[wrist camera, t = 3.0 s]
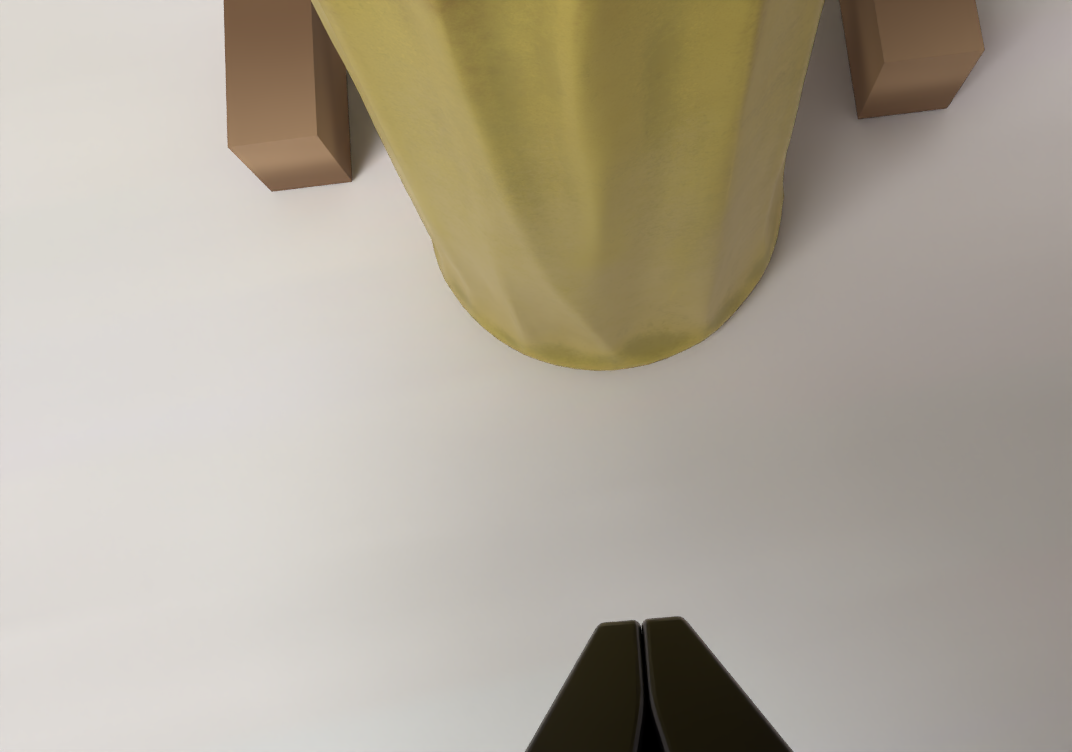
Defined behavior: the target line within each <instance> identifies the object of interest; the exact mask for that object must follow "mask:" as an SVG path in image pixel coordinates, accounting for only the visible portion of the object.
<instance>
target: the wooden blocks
mask: <svg viewBox="0 0 1072 752" xmlns="http://www.w3.org/2000/svg"><path fill="white" fill-rule="evenodd" d="M839 2H840V8H841V14H842V21H843V27H844V33H845V40H846V46H847V52H848V59H849V65H850V71H851V78H852V84H853V90H854V97H855V103H856V109H857V115H858V119H863V118H871V117H879V116H887V115H895V114H903V113H912V112H920V111H928V110H936V109H944V108H947V107H948V106H949V104H950V103H951V101H952V99H953V98H954V96H955V95H956V93H957V92H958V90H959V89H960V87H961V86H962V84H963V83H964V81H965V79H966V78H967V76H968V75H969V73H970V72H971V70H972V69H973V67H974V66H975V64H976V63H977V61H978V59H979V58H980V56H981V55H982V53H983V52H984V44H983V39H982V34H981V28H980V23H979V18H978V12H977V7H976V2H975V0H839ZM224 28H225V64H226V101H227V138H228V148H229V149H230V150H231V151H232V152H233V153H234V154H235V155H236V156H237V157H238V158H239V159H240V160H241V161H242V162H243V163H244V164H245V165H246V166H247V167H248V168H249V169H250V170H251V171H252V172H253V173H254V174H255V175H256V176H257V177H258V178H259V179H260V180H261V181H262V182H263V183H264V184H265V185H266V186H267V187H268V188H269V189H270V190H271V191H280V190H288V189H296V188H304V187H313V186H321V185H329V184H337V183H345V182H352V172H351V153H350V134H349V115H348V96H347V77H346V67H345V65H344V63H343V61H342V59H341V57H340V56H339V54H338V52H337V50H336V48H335V47H334V45H333V43H332V41H331V39H330V37H329V35H328V33H327V31H326V29H325V27H324V25H323V23H322V21H321V19H320V17H319V15H318V14H317V12H316V10H315V8H314V6H313V4H312V2H311V0H224Z"/></svg>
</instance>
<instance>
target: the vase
mask: <svg viewBox="0 0 1072 752" xmlns="http://www.w3.org/2000/svg"><path fill="white" fill-rule="evenodd" d="M311 2H312V4H313V6H314V8H315V10H316V12H317V14H318V15H319V17H320V19H321V21H322V23H323V25H324V27H325V29H326V31H327V33H328V35H329V37H330V39H331V41H332V43H333V45H334V47H335V48H336V50H337V52H338V54H339V56H340V57H341V59H342V61H343V63H344V65H345V67H346V69H347V71H348V73H349V74H350V76H351V78H352V80H353V82H354V84H355V86H356V88H357V90H358V92H359V94H360V96H361V98H362V100H363V102H364V104H365V107H366V109H367V111H368V113H369V115H370V117H371V120H372V122H373V124H374V126H375V128H376V130H377V132H378V134H379V136H380V138H381V140H382V143H383V145H384V147H385V149H386V151H387V153H388V155H389V157H390V159H391V161H392V163H393V165H394V167H395V169H396V171H397V173H398V175H399V177H400V179H401V181H402V183H403V185H404V187H405V189H406V191H407V193H408V194H409V196H410V198H411V200H412V202H413V204H414V206H415V208H416V210H417V212H418V214H419V216H420V218H421V220H422V222H423V224H424V226H425V227H426V229H427V231H428V233H429V235H430V237H431V239H432V243H433V247H434V251H435V255H436V258H437V261H438V264H439V267H440V270H441V272H442V274H443V277H444V279H445V281H446V282H447V284H448V285H449V287H450V288H451V290H452V292H453V293H454V295H455V296H456V297H457V299H458V300H459V302H460V303H461V304H462V306H463V307H464V308H465V309H466V310H467V311H468V313H469V314H470V315H471V316H472V317H473V318H474V319H475V320H476V321H477V322H478V323H479V324H480V325H481V326H482V327H483V328H484V329H486V330H487V331H488V332H489V333H491V334H492V335H493V336H494V337H496V338H497V339H498V340H500V341H501V342H503V343H505V344H506V345H508V346H509V347H511V348H513V349H515V350H517V351H518V352H520V353H522V354H524V355H527V356H529V357H532V358H535V359H537V360H540V361H543V362H547V363H550V364H554V365H557V366H563V367H569V368H574V369H583V370H594V371H605V370H619V369H627V368H633V367H638V366H643V365H648V364H651V363H654V362H657V361H660V360H663V359H666V358H668V357H671V356H673V355H675V354H677V353H680V352H682V351H684V350H686V349H688V348H690V347H692V346H694V345H696V344H698V343H700V342H702V341H703V340H705V339H706V338H707V337H709V336H710V335H711V334H713V333H714V332H715V331H717V330H718V329H719V328H720V327H721V326H722V325H723V324H724V323H725V322H726V321H727V320H728V319H729V318H730V317H731V316H732V315H733V314H734V312H735V311H736V310H737V309H738V308H739V306H740V305H741V304H742V303H743V302H744V301H745V299H746V298H747V297H748V296H749V294H750V293H751V292H752V290H753V289H754V287H755V286H756V285H757V283H758V282H759V281H760V279H761V277H762V275H763V273H764V271H765V269H766V267H767V265H768V263H769V262H770V259H771V256H772V253H773V250H774V247H775V244H776V241H777V236H778V231H779V226H780V221H781V215H782V205H783V199H784V191H783V176H784V167H785V160H786V154H787V149H788V146H789V142H790V139H791V135H792V131H793V127H794V123H795V119H796V115H797V111H798V106H799V102H800V97H801V93H802V88H803V84H804V80H805V76H806V72H807V68H808V64H809V60H810V56H811V52H812V48H813V43H814V39H815V35H816V31H817V27H818V23H819V19H820V15H821V12H822V8H823V5H824V2H825V0H311Z"/></svg>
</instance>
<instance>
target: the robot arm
mask: <svg viewBox="0 0 1072 752" xmlns="http://www.w3.org/2000/svg"><path fill="white" fill-rule="evenodd" d="M525 752H793V751H792V749H791V748H790V747H789V746H788V744H787V743H786V742H785V741H784V740H783V738H782V737H781V736H780V735H779V733H778V732H777V731H776V730H775V729H774V727H773V726H772V725H771V724H770V722H769V721H768V720H767V719H766V718H765V716H764V715H763V714H762V713H761V711H760V710H759V709H758V708H757V706H756V705H755V704H754V703H753V702H752V700H751V699H750V698H749V697H748V695H747V694H746V693H745V692H744V691H743V689H742V688H741V687H740V686H739V684H738V683H737V682H736V681H735V680H734V678H733V677H732V676H731V675H730V673H729V672H728V671H727V670H726V669H725V667H724V666H723V665H722V664H721V662H720V661H719V660H718V659H717V658H716V656H715V655H714V654H713V653H712V651H711V650H710V649H709V648H708V646H707V645H706V644H705V643H704V642H703V640H702V639H701V638H700V637H699V635H698V634H697V633H696V632H695V631H694V629H693V628H692V627H691V626H690V624H689V623H688V622H687V621H686V620H685V619H684V618H682V617H678V616H676V617H663V618H651V619H646V620H645V621H643V623H642V630H641V626H640V624H639V623H638V622H637V621H635V620H628V621H617V622H605V623H601V624H599V625H598V626H597V628H596V629H595V631H594V632H593V634H592V636H591V638H590V639H589V641H588V643H587V644H586V646H585V648H584V650H583V651H582V653H581V655H580V657H579V658H578V660H577V662H576V664H575V665H574V667H573V669H572V671H571V672H570V674H569V676H568V678H567V679H566V681H565V683H564V685H563V686H562V688H561V690H560V692H559V693H558V695H557V697H556V699H555V700H554V702H553V704H552V706H551V707H550V709H549V711H548V712H547V714H546V716H545V718H544V719H543V721H542V723H541V725H540V726H539V728H538V730H537V732H536V733H535V735H534V737H533V739H532V740H531V742H530V744H529V746H528V747H527V749H526V751H525Z"/></svg>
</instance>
